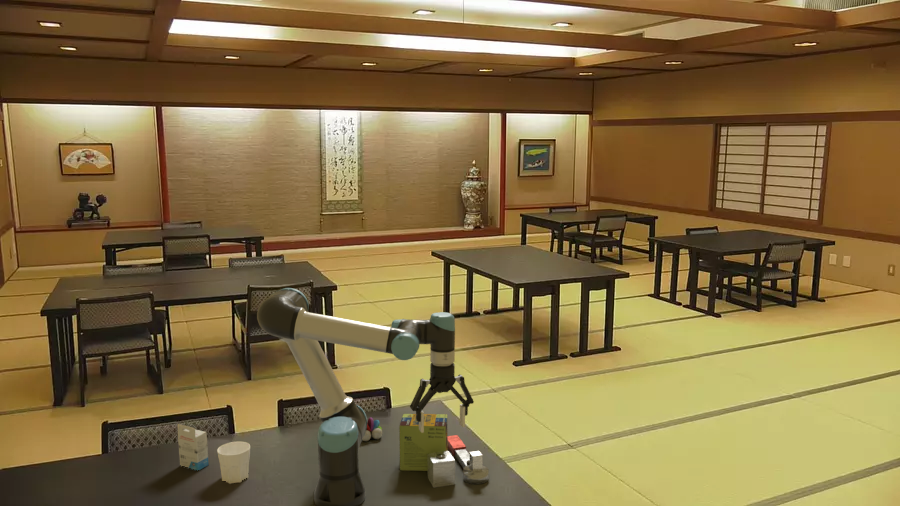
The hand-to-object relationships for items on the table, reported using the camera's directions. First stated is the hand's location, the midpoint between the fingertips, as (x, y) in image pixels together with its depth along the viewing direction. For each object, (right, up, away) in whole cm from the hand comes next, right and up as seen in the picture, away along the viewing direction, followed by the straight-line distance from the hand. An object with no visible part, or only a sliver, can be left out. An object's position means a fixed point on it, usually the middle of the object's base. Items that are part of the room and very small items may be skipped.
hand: (442, 428), depth 215 cm
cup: (-66, -17, +4) cm, 68 cm away
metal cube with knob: (0, -17, +1) cm, 17 cm away
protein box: (-6, -15, +13) cm, 21 cm away
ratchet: (+7, -15, +13) cm, 21 cm away
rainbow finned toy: (-27, -12, +35) cm, 45 cm away
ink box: (-82, -16, +13) cm, 85 cm away
